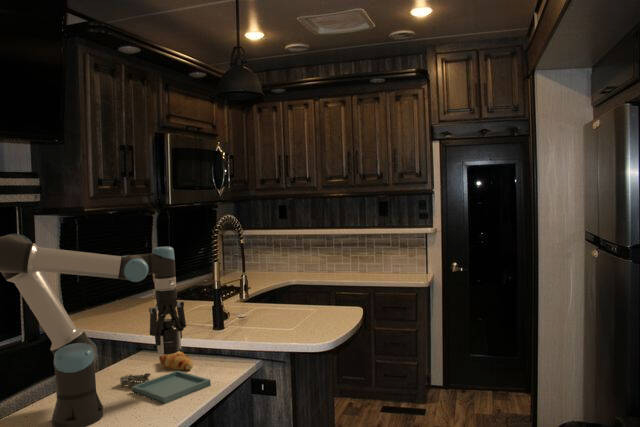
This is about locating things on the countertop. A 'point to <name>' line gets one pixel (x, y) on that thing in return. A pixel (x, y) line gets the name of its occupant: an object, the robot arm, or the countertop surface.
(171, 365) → the croissant
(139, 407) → the countertop surface
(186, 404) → the countertop surface
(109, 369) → the countertop surface
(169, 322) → the supplement bottle
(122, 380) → the egg carton
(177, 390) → the tray
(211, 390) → the countertop surface
